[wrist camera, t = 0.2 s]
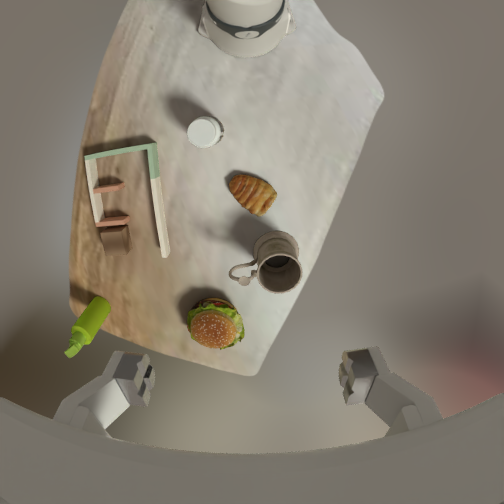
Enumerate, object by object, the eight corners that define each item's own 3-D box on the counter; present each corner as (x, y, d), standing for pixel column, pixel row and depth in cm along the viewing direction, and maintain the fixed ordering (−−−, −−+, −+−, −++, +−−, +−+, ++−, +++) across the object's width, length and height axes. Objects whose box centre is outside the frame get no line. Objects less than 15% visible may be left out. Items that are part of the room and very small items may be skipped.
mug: (299, 231, 59) (310, 255, 48) (297, 272, 63) (305, 302, 52) (231, 231, 59) (226, 256, 48) (232, 272, 63) (228, 303, 53)
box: (91, 154, 52) (84, 156, 49) (156, 142, 51) (151, 143, 48) (109, 253, 62) (104, 259, 59) (170, 251, 61) (166, 257, 59)
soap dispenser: (116, 306, 68) (85, 358, 50) (103, 317, 70) (73, 366, 52) (101, 291, 66) (65, 339, 48) (89, 302, 68) (55, 349, 50)
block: (108, 226, 59) (100, 233, 55) (128, 225, 59) (121, 231, 55) (112, 248, 61) (105, 255, 58) (132, 247, 61) (126, 255, 58)
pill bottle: (195, 118, 49) (183, 116, 40) (224, 117, 49) (218, 114, 40) (195, 146, 52) (183, 150, 43) (224, 145, 52) (218, 149, 43)
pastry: (222, 192, 56) (220, 196, 53) (241, 164, 54) (240, 167, 50) (261, 217, 58) (261, 222, 55) (280, 190, 56) (282, 194, 52)
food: (240, 340, 72) (239, 362, 65) (188, 330, 71) (182, 351, 64) (251, 299, 67) (251, 319, 59) (192, 288, 65) (185, 307, 58)
